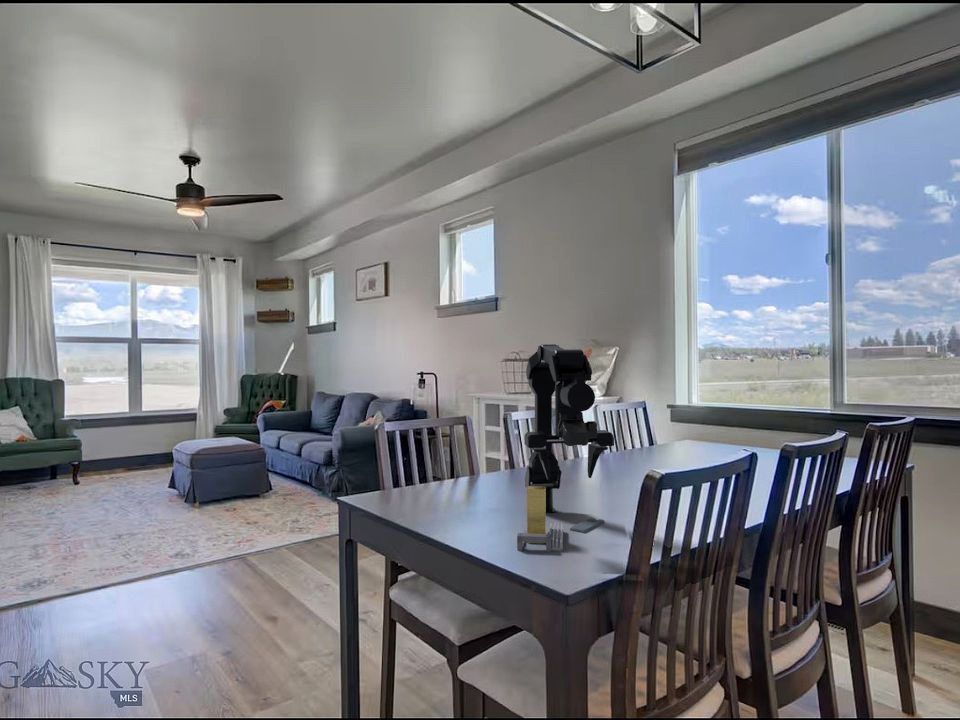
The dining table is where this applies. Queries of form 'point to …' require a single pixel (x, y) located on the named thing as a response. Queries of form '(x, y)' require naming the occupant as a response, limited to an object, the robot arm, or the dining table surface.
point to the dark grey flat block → (587, 525)
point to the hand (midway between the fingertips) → (569, 478)
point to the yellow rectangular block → (536, 510)
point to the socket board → (543, 539)
